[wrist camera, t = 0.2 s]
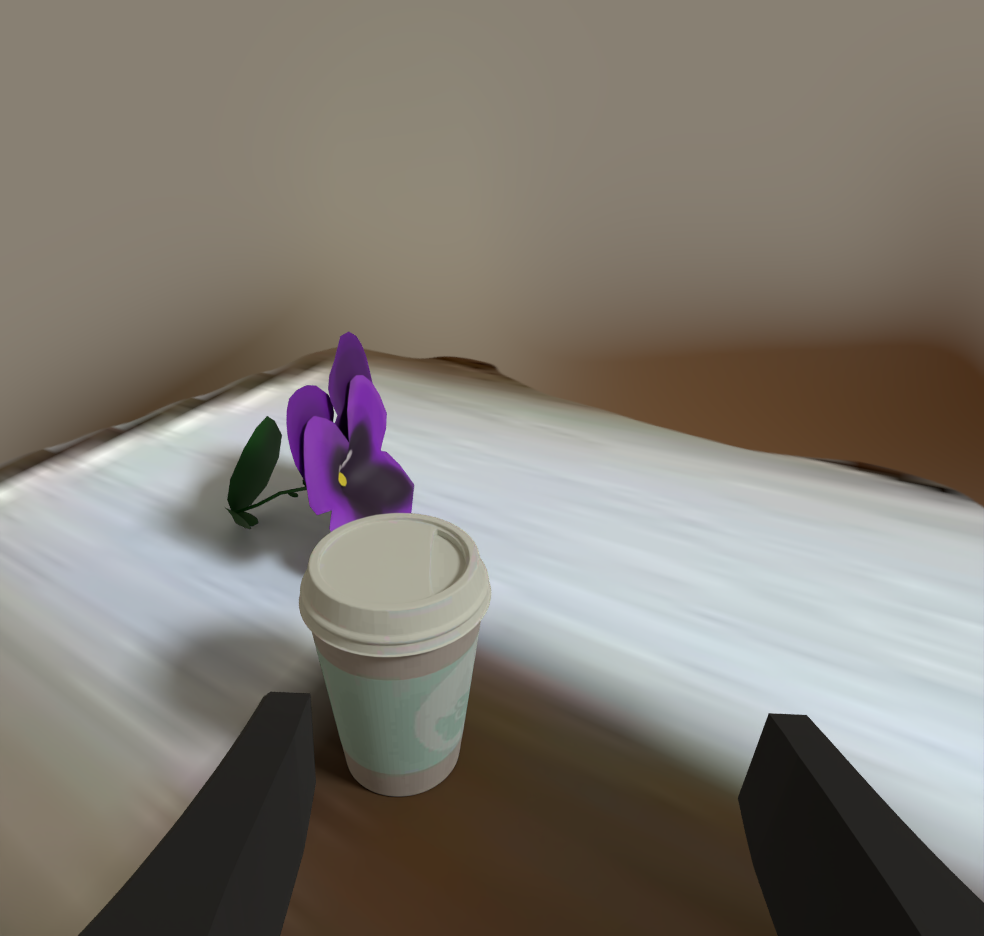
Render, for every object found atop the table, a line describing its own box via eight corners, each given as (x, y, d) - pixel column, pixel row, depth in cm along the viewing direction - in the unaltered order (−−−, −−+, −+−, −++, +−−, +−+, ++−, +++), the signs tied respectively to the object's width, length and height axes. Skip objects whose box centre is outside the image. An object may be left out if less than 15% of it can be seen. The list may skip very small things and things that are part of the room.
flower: (235, 645, 52) (394, 597, 47) (105, 468, 47) (267, 394, 42) (318, 535, 65) (450, 488, 60) (223, 386, 60) (358, 322, 55)
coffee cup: (427, 854, 33) (421, 647, 27) (282, 774, 36) (251, 576, 31) (515, 725, 39) (525, 537, 34) (385, 668, 43) (375, 490, 37)
